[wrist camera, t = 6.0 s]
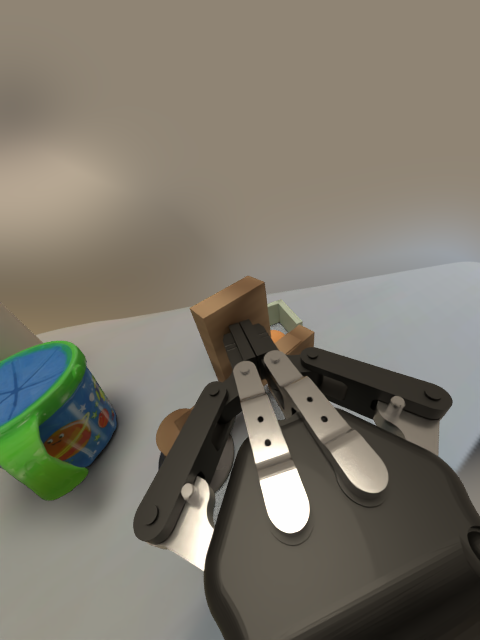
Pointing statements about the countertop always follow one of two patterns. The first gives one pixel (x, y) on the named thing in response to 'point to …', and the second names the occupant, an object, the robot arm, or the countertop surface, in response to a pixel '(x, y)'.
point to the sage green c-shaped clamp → (282, 315)
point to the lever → (214, 323)
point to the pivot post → (222, 467)
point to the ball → (276, 335)
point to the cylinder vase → (14, 334)
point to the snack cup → (51, 418)
